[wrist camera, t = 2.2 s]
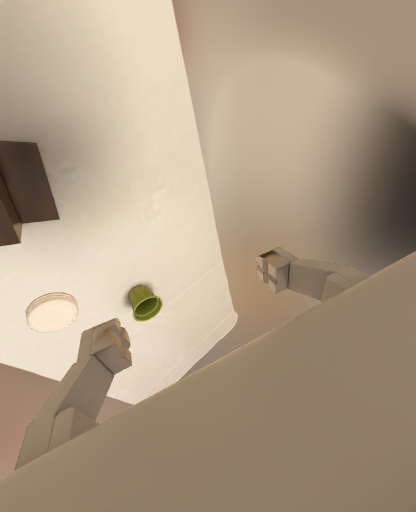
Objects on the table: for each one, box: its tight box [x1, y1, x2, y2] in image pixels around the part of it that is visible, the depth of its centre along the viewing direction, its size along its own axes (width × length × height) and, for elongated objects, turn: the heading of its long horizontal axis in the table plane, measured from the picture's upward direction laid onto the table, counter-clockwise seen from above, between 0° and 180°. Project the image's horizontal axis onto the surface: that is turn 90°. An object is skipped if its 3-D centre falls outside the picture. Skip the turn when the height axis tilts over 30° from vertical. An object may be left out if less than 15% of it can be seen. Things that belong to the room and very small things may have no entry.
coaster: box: [27, 293, 78, 332], centre depth 49 cm, size 10×10×4 cm
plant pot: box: [129, 285, 163, 321], centre depth 62 cm, size 9×9×9 cm
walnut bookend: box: [0, 141, 59, 246], centre depth 32 cm, size 9×14×10 cm, turn 174°
